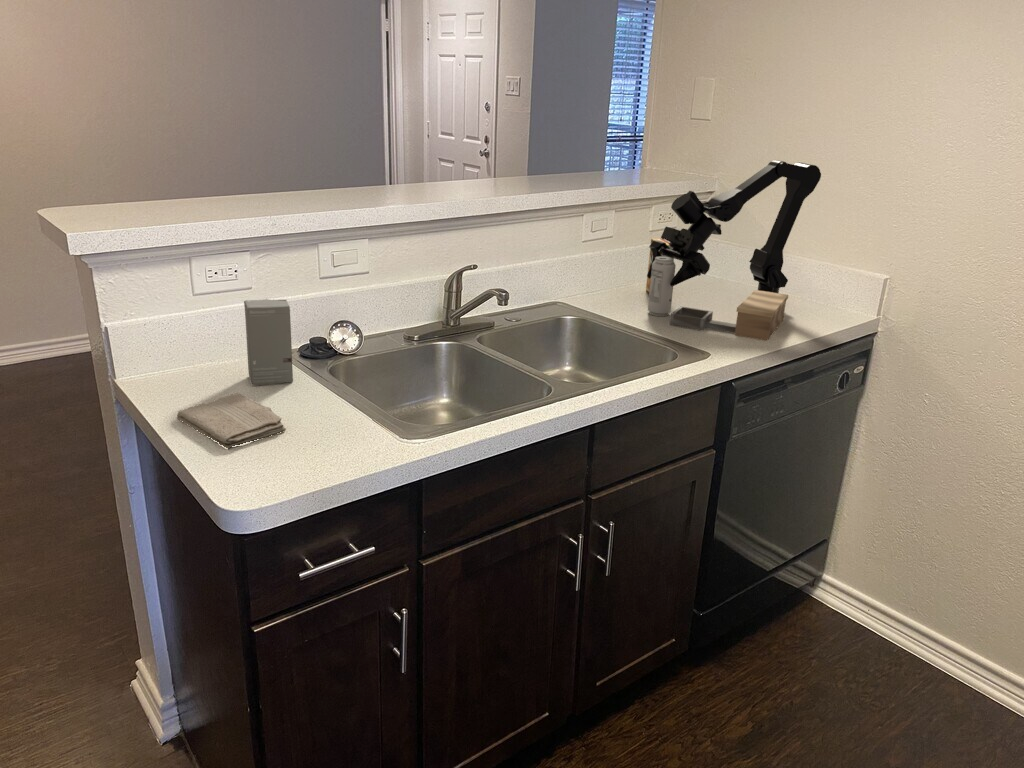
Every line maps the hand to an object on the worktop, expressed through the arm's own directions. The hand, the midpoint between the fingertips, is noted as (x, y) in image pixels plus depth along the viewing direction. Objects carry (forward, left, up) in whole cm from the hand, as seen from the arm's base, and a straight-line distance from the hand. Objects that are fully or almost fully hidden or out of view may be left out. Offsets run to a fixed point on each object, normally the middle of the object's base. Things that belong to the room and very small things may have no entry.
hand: (659, 281), depth 209 cm
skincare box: (+89, -51, -9) cm, 103 cm away
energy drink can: (-1, +1, -9) cm, 9 cm away
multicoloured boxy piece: (-3, +18, -9) cm, 21 cm away
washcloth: (+110, -41, -10) cm, 117 cm away
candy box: (-21, -7, -9) cm, 24 cm away
